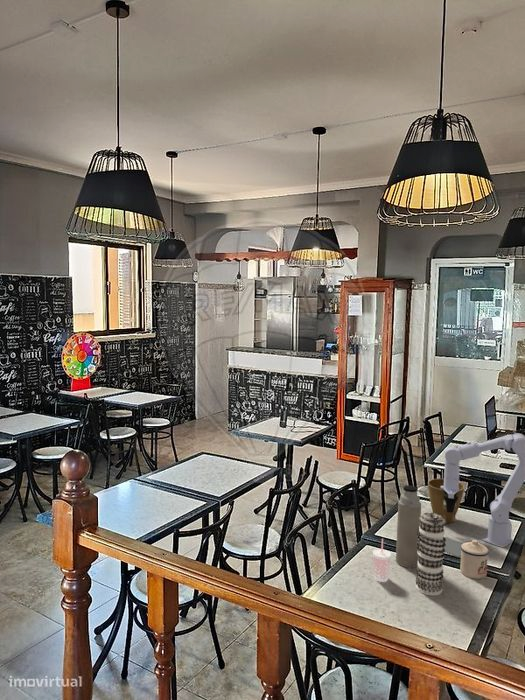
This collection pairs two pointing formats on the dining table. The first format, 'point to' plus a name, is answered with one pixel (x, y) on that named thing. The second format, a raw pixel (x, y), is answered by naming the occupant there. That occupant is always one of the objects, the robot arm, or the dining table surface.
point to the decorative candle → (430, 554)
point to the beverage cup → (381, 564)
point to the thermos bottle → (408, 527)
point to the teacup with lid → (474, 559)
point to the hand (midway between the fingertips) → (449, 509)
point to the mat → (453, 547)
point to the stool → (446, 509)
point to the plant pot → (442, 498)
